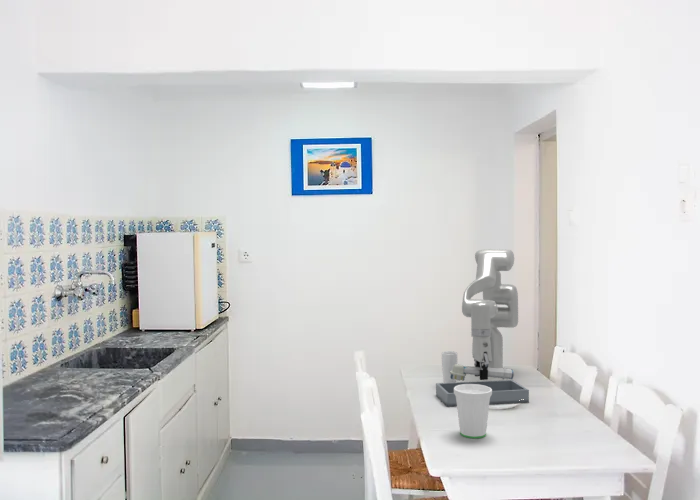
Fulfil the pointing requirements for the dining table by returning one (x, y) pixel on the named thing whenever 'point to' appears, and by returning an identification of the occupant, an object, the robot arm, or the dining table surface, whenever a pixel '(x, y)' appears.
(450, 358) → the drinking glass
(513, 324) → the robot arm
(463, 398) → the cup
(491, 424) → the dining table surface
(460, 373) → the white electric toothbrush
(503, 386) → the bin
